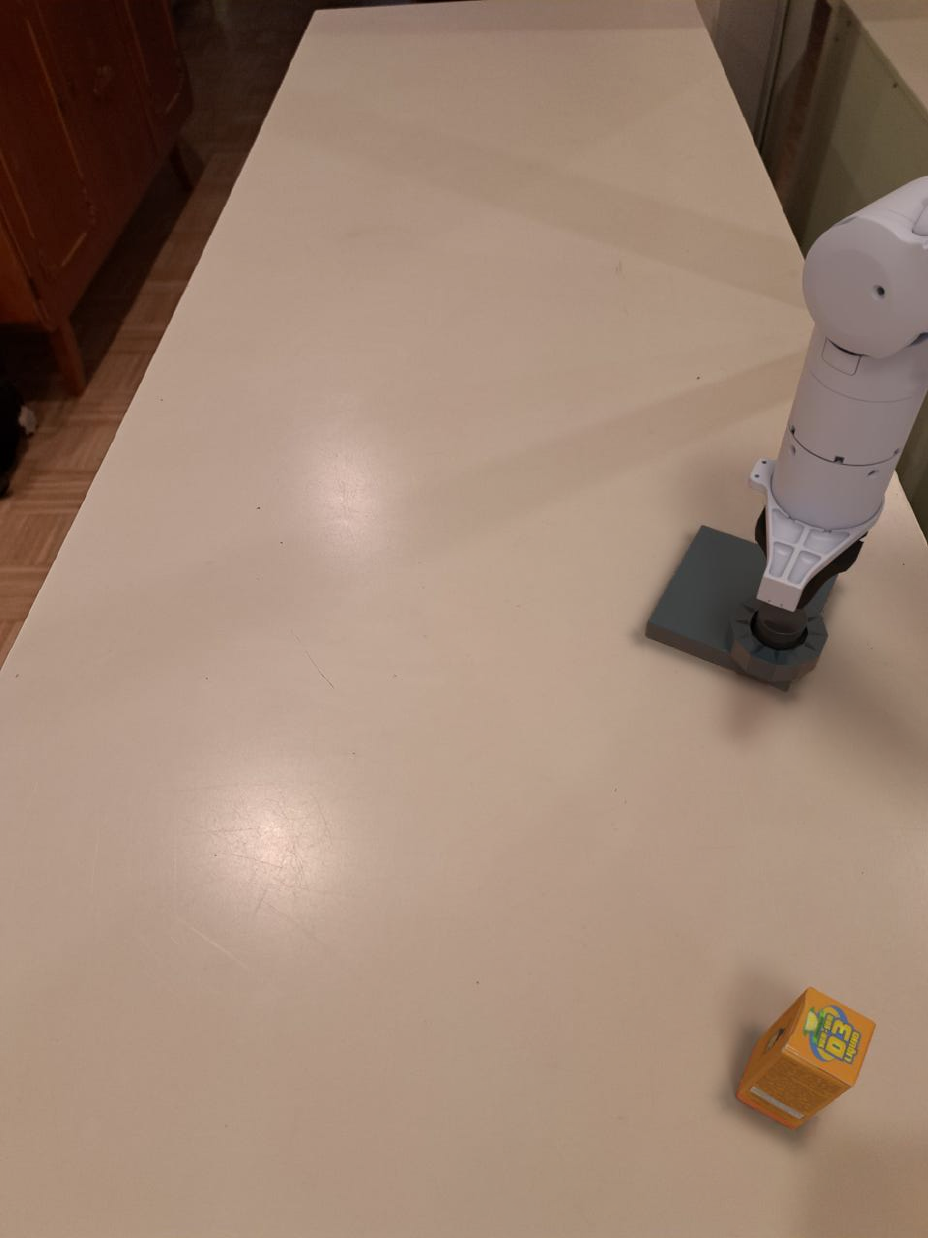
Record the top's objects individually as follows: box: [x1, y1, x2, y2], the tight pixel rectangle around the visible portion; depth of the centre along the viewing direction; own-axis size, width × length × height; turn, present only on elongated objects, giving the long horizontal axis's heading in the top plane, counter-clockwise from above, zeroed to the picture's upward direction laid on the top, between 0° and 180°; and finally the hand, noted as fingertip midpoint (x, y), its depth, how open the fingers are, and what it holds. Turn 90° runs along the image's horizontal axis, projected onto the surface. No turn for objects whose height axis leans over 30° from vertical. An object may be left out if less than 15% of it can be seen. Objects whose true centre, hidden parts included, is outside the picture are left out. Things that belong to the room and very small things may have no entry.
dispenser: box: [645, 524, 839, 693], centre depth 65 cm, size 11×11×4 cm
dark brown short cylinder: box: [754, 602, 808, 650], centre depth 61 cm, size 3×3×2 cm
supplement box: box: [735, 986, 877, 1131], centre depth 44 cm, size 3×3×10 cm
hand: (789, 596), depth 59 cm, fingers closed
